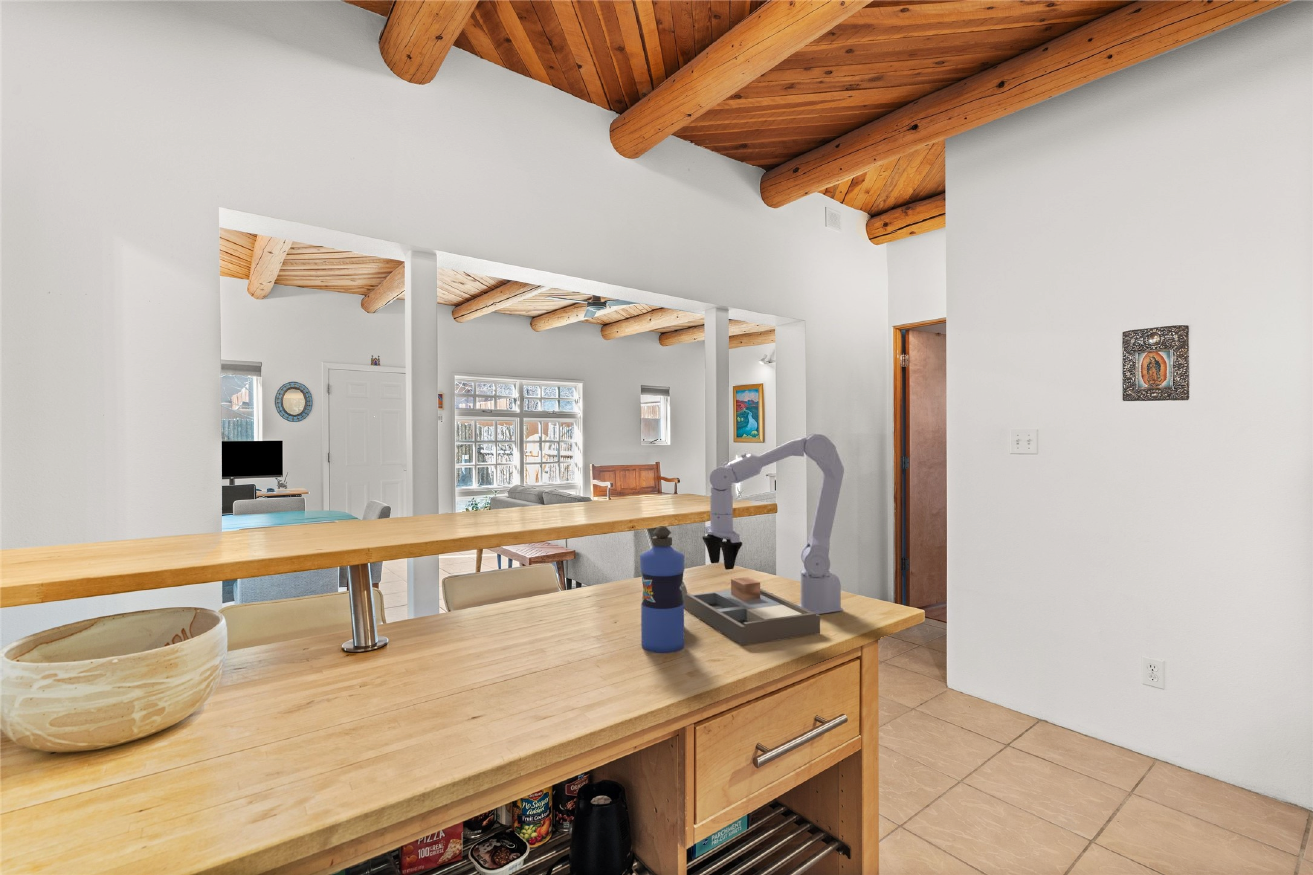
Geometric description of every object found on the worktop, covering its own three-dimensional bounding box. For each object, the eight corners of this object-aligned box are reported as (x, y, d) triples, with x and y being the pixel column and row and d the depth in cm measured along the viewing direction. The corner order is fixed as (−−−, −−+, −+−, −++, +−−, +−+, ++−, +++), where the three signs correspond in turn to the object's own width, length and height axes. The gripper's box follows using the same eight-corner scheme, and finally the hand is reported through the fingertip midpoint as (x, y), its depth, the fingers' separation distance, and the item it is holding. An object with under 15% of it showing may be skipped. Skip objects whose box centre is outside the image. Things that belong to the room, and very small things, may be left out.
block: (747, 592, 157) (747, 577, 157) (760, 598, 152) (760, 582, 152) (731, 594, 155) (730, 578, 155) (742, 600, 150) (742, 584, 150)
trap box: (750, 598, 162) (749, 581, 162) (820, 633, 134) (820, 613, 134) (682, 607, 155) (682, 589, 154) (741, 645, 127) (741, 624, 127)
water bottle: (650, 655, 122) (649, 531, 121) (634, 640, 130) (633, 525, 130) (692, 649, 125) (691, 528, 125) (674, 635, 134) (673, 522, 133)
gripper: (695, 510, 161) (695, 561, 161) (721, 518, 147) (722, 573, 147) (718, 509, 163) (718, 559, 163) (746, 516, 150) (747, 570, 150)
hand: (721, 566), depth 156 cm, fingers open, 7 cm apart
